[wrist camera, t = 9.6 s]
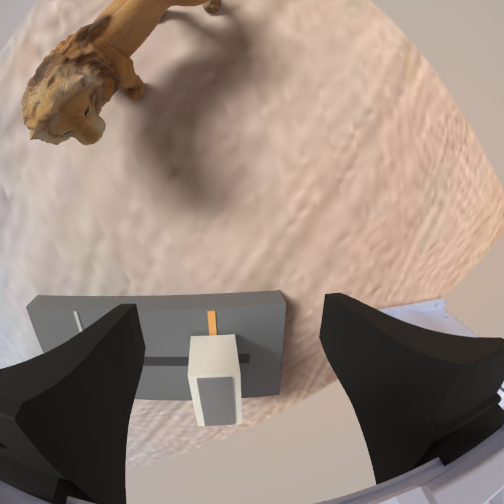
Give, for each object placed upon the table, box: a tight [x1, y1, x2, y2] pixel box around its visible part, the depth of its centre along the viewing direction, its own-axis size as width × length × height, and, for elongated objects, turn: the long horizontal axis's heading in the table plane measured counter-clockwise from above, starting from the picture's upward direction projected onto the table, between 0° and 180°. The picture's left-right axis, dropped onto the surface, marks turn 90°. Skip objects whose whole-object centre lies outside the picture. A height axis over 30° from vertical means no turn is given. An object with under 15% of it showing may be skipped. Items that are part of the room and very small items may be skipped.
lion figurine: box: [21, 0, 221, 145], centre depth 10 cm, size 15×5×9 cm, turn 152°
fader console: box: [26, 290, 286, 400], centre depth 20 cm, size 20×9×2 cm, turn 90°
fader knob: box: [188, 334, 242, 426], centre depth 18 cm, size 3×5×4 cm, turn 0°
